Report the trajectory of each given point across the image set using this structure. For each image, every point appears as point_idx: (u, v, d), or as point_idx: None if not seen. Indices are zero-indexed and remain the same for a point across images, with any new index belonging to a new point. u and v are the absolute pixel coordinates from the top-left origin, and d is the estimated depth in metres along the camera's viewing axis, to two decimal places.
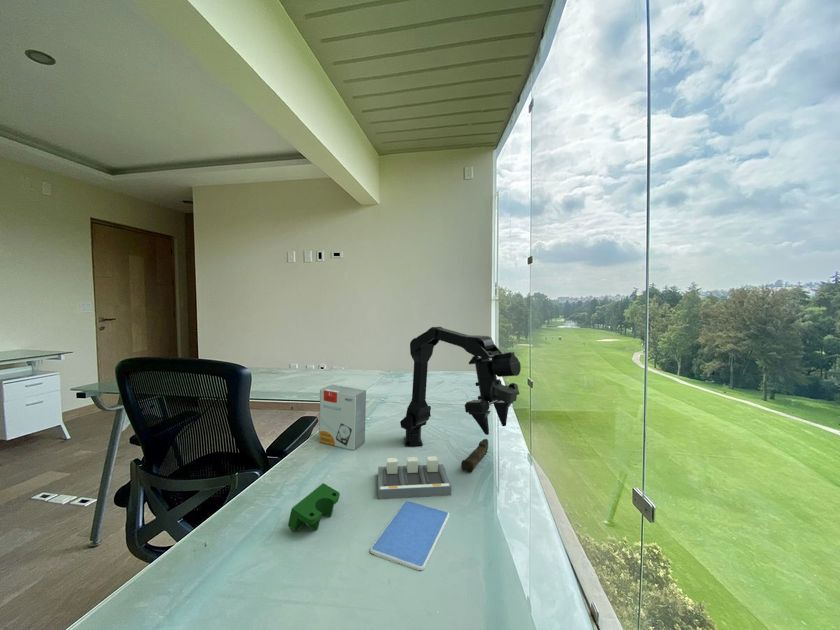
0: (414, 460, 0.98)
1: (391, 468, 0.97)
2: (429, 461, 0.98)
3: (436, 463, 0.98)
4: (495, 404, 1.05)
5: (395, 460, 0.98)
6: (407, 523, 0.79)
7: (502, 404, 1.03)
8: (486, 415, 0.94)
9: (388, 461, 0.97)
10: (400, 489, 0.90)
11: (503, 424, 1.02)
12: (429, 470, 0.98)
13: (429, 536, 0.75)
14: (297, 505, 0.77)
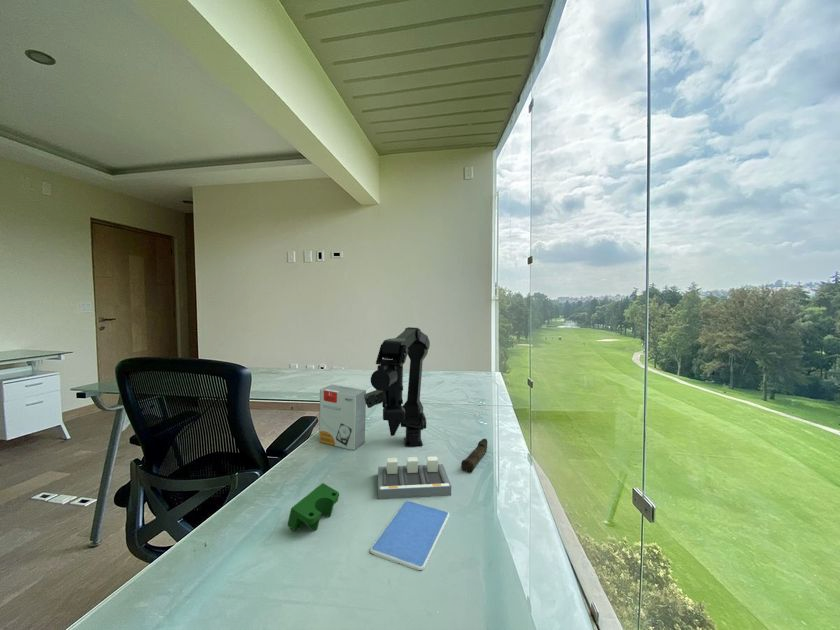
0: (414, 460, 0.98)
1: (391, 468, 0.97)
2: (429, 461, 0.98)
3: (436, 463, 0.98)
4: None
5: (395, 460, 0.98)
6: (407, 523, 0.79)
7: None
8: None
9: (388, 461, 0.97)
10: (400, 489, 0.90)
11: None
12: (429, 470, 0.98)
13: (429, 536, 0.75)
14: (297, 505, 0.77)
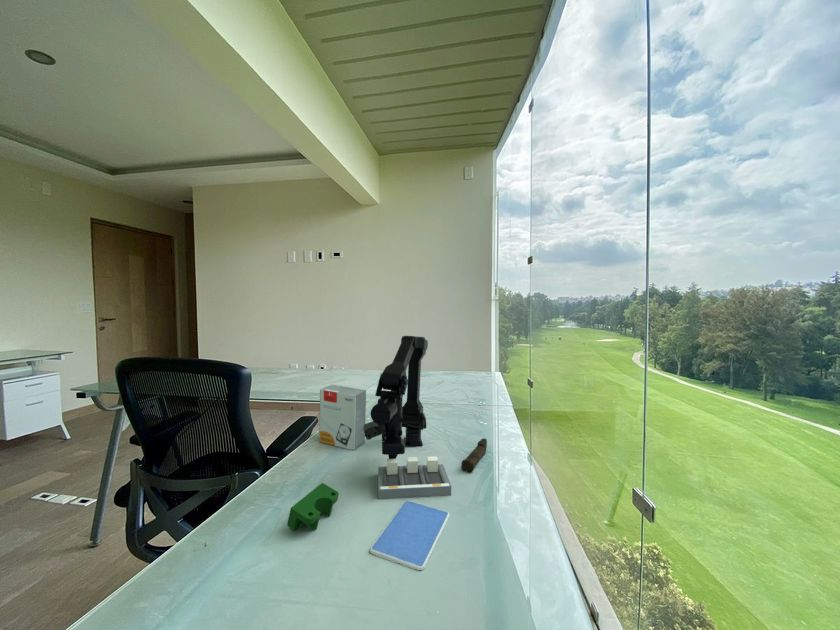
0: (414, 460, 0.98)
1: (391, 468, 0.96)
2: (429, 461, 0.98)
3: (436, 463, 0.98)
4: None
5: (395, 461, 0.97)
6: (407, 523, 0.79)
7: None
8: None
9: (388, 462, 0.97)
10: (400, 489, 0.90)
11: None
12: (429, 470, 0.98)
13: (429, 536, 0.75)
14: (296, 505, 0.77)
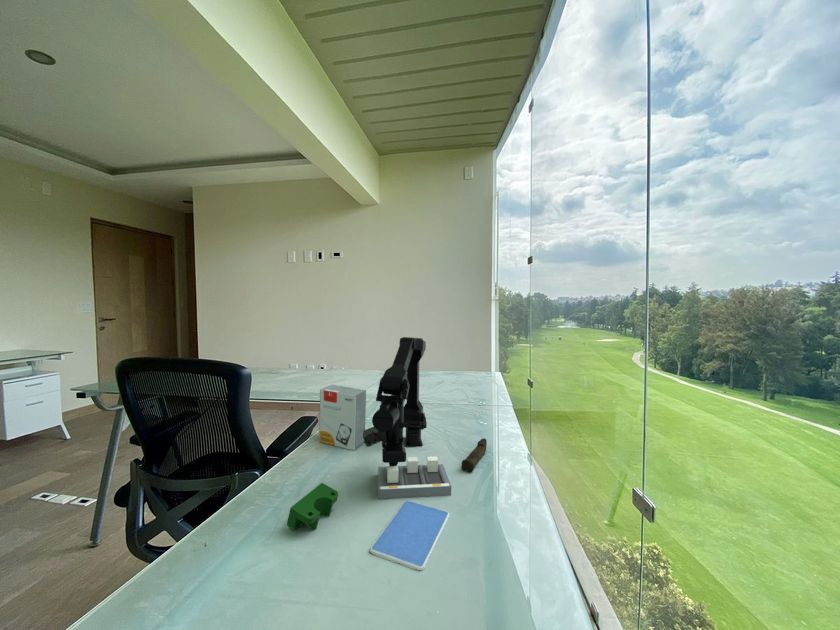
0: (414, 460, 0.98)
1: (392, 476, 0.92)
2: (429, 461, 0.98)
3: (436, 463, 0.98)
4: None
5: (396, 468, 0.93)
6: (407, 523, 0.79)
7: None
8: None
9: (389, 469, 0.92)
10: (400, 489, 0.90)
11: None
12: (429, 470, 0.98)
13: (429, 536, 0.75)
14: (296, 504, 0.77)
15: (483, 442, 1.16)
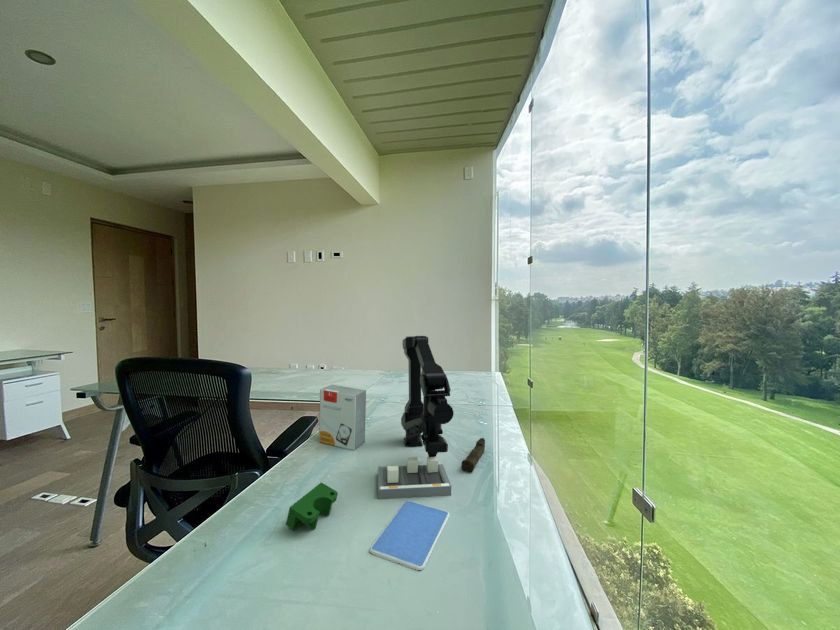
0: (414, 460, 0.98)
1: (392, 476, 0.92)
2: (429, 461, 0.98)
3: (436, 463, 0.98)
4: None
5: (396, 468, 0.93)
6: (407, 523, 0.79)
7: None
8: None
9: (389, 469, 0.92)
10: (400, 489, 0.90)
11: None
12: (429, 470, 0.98)
13: (429, 536, 0.75)
14: (295, 504, 0.77)
15: (482, 442, 1.16)
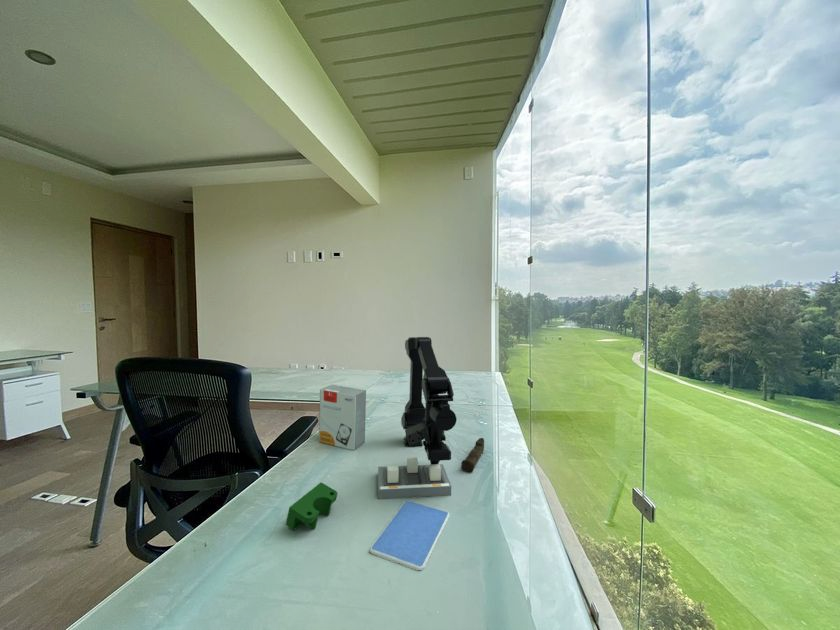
0: (414, 460, 0.98)
1: (392, 476, 0.92)
2: (432, 469, 0.94)
3: (439, 471, 0.94)
4: None
5: (396, 468, 0.93)
6: (407, 523, 0.79)
7: None
8: None
9: (389, 469, 0.92)
10: (400, 489, 0.90)
11: None
12: (432, 479, 0.94)
13: (429, 536, 0.75)
14: (295, 504, 0.77)
15: (481, 442, 1.16)
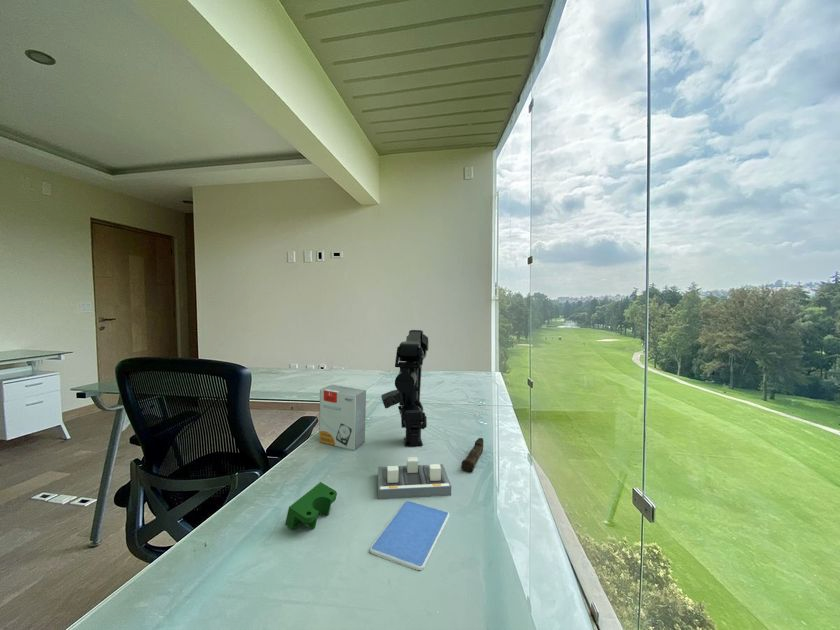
0: (414, 460, 0.98)
1: (392, 476, 0.92)
2: (432, 469, 0.94)
3: (439, 471, 0.94)
4: None
5: (396, 468, 0.93)
6: (407, 523, 0.79)
7: None
8: None
9: (389, 469, 0.92)
10: (400, 489, 0.90)
11: None
12: (432, 479, 0.94)
13: (429, 536, 0.75)
14: (294, 504, 0.77)
15: (480, 441, 1.16)
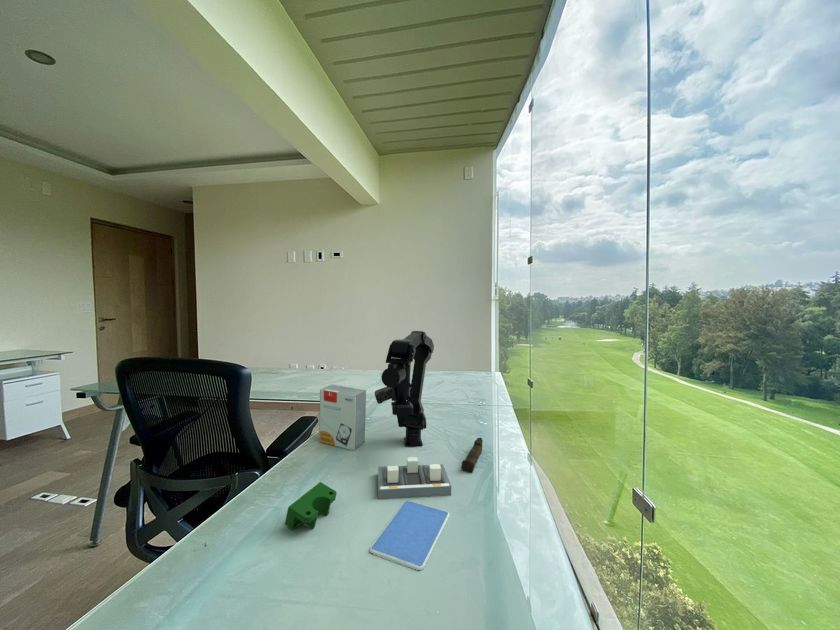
0: (414, 460, 0.98)
1: (392, 476, 0.92)
2: (432, 469, 0.94)
3: (439, 471, 0.94)
4: None
5: (396, 468, 0.93)
6: (407, 523, 0.79)
7: None
8: None
9: (389, 469, 0.92)
10: (400, 489, 0.90)
11: None
12: (432, 479, 0.94)
13: (428, 536, 0.75)
14: (294, 504, 0.77)
15: (480, 441, 1.17)
